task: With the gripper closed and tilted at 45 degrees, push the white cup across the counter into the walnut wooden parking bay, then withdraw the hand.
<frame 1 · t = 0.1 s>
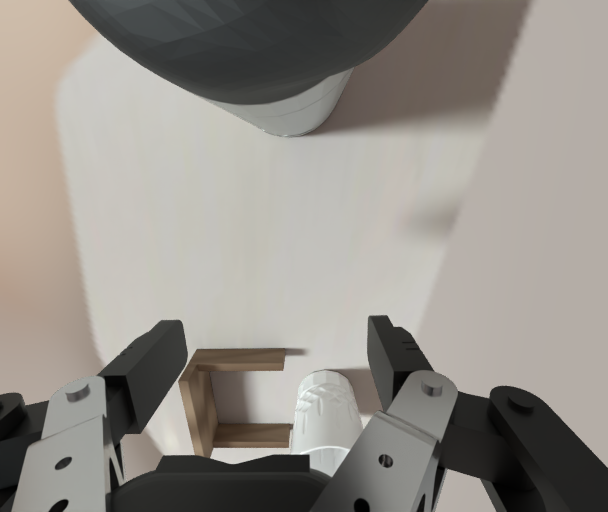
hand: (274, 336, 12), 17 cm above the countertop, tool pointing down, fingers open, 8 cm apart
white cup: (325, 389, 35), on the countertop
walnut bay: (249, 391, 35), on the countertop
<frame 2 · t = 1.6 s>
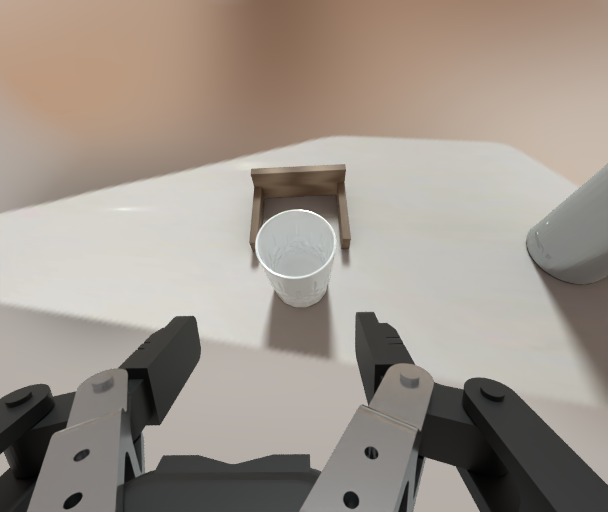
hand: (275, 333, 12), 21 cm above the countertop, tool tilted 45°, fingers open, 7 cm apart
white cup: (301, 283, 36), on the countertop
walnut bay: (300, 221, 40), on the countertop
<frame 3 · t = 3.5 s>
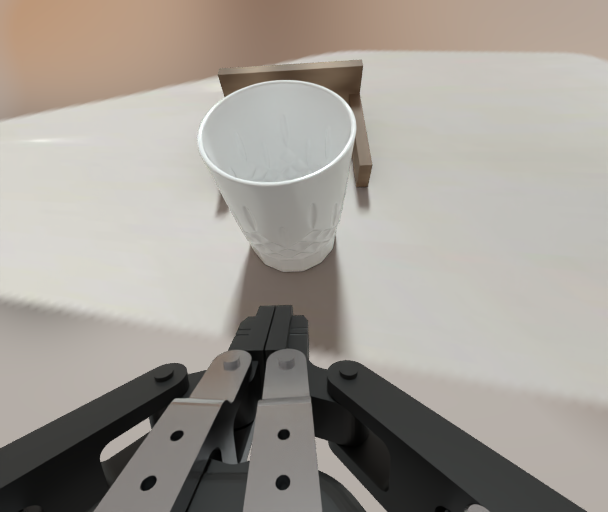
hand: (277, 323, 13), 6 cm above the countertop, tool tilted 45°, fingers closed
white cup: (293, 236, 23), on the countertop
walnut bay: (294, 152, 27), on the countertop
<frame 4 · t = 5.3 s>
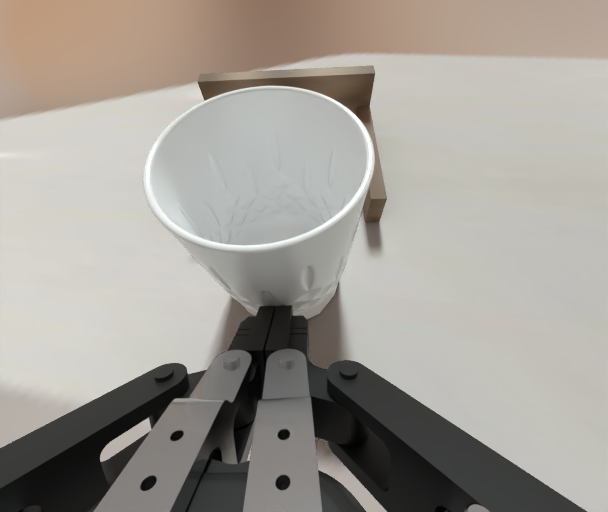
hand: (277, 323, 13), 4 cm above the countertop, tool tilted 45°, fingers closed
white cup: (287, 276, 19), on the countertop, touching gripper
walnut bay: (290, 175, 23), on the countertop
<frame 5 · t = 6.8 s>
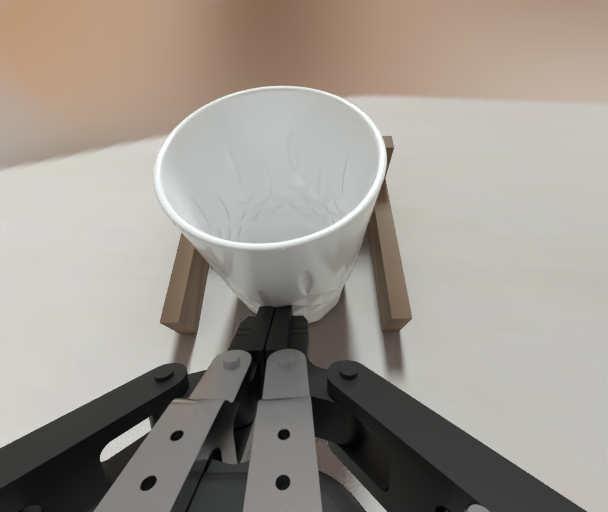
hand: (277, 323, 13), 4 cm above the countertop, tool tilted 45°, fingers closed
white cup: (292, 277, 18), on the countertop, touching gripper
walnut bay: (289, 261, 19), on the countertop
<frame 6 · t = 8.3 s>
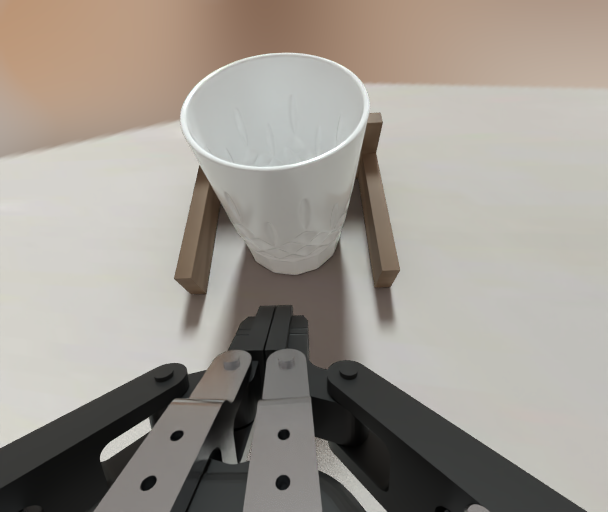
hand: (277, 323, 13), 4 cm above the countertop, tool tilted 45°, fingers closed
white cup: (293, 235, 21), on the countertop
walnut bay: (289, 230, 21), on the countertop
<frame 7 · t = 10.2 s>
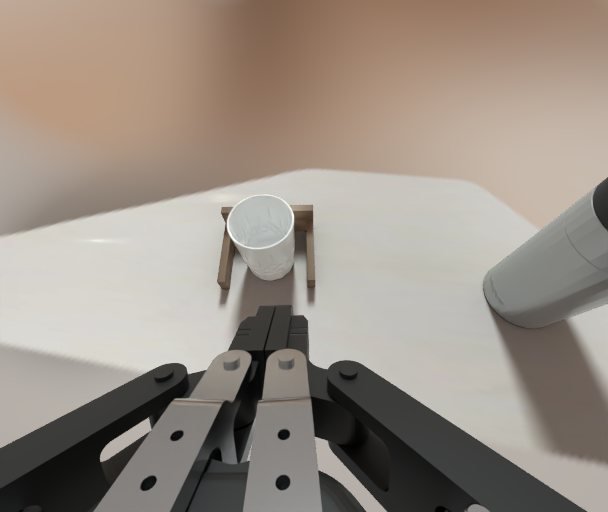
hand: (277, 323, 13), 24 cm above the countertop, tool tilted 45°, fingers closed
white cup: (271, 260, 42), on the countertop
walnut bay: (270, 258, 42), on the countertop
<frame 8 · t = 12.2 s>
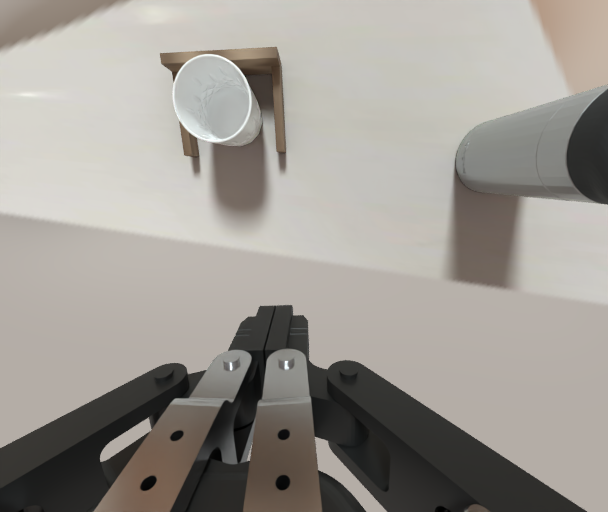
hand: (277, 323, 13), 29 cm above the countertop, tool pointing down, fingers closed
white cup: (237, 119, 38), on the countertop
walnut bay: (235, 116, 37), on the countertop
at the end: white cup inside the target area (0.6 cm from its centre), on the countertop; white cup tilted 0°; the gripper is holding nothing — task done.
